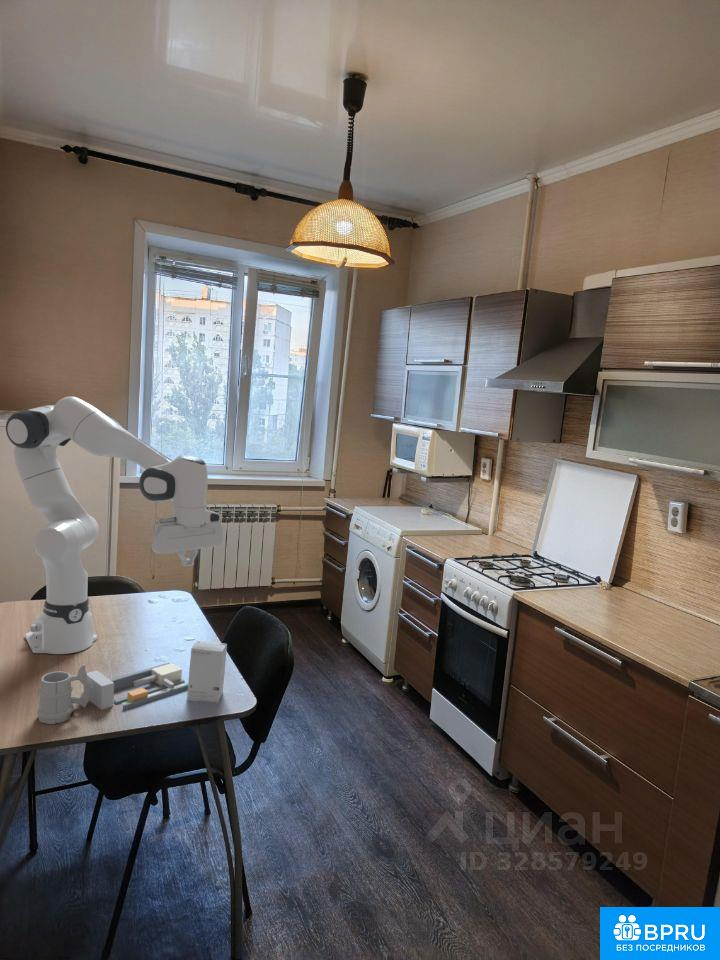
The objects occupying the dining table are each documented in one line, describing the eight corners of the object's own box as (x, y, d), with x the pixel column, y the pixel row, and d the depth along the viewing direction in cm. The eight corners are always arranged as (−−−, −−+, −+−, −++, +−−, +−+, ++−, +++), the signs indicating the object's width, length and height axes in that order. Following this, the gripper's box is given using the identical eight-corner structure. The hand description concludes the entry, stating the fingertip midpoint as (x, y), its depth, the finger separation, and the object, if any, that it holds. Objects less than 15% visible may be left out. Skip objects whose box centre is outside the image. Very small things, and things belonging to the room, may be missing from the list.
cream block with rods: (130, 686, 163) (130, 675, 163) (171, 673, 172) (171, 663, 172) (149, 699, 157) (149, 688, 157) (190, 685, 166) (191, 675, 166)
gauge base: (77, 695, 159) (77, 668, 158) (169, 668, 179) (170, 644, 178) (109, 721, 148) (109, 692, 147) (203, 689, 167) (204, 663, 166)
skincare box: (186, 705, 159) (188, 648, 157) (192, 694, 165) (194, 639, 163) (219, 707, 159) (222, 650, 157) (224, 696, 165) (227, 641, 163)
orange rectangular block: (127, 701, 156) (127, 692, 155) (142, 696, 158) (142, 687, 158) (132, 705, 154) (132, 695, 154) (147, 700, 157) (147, 691, 156)
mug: (35, 712, 150) (36, 664, 148) (89, 703, 156) (90, 656, 154) (38, 727, 143) (38, 677, 142) (94, 717, 149) (95, 669, 148)
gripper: (160, 521, 160) (159, 574, 162) (227, 514, 176) (224, 563, 177) (148, 517, 165) (146, 568, 166) (213, 511, 180) (211, 558, 181)
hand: (187, 565), depth 172 cm, fingers closed
